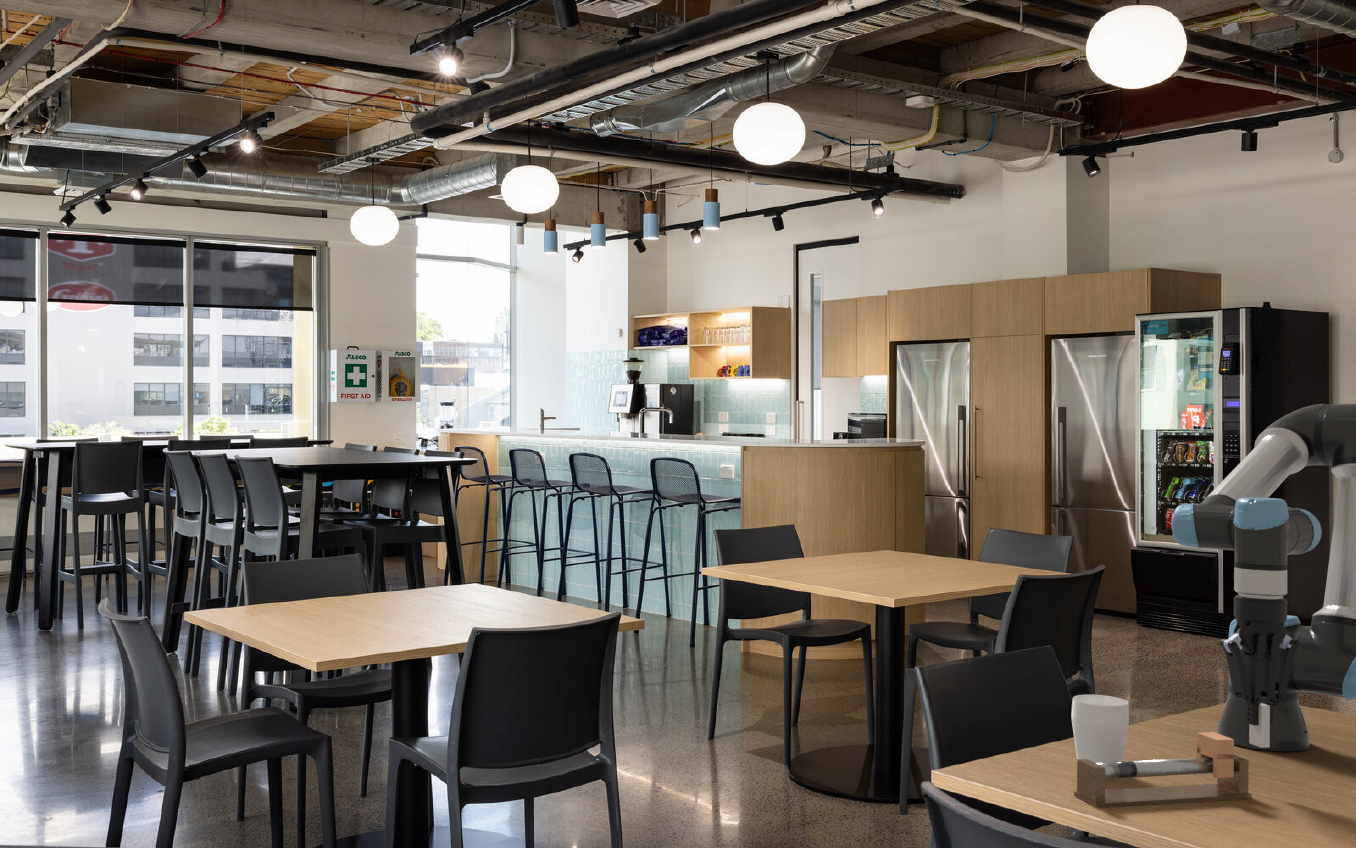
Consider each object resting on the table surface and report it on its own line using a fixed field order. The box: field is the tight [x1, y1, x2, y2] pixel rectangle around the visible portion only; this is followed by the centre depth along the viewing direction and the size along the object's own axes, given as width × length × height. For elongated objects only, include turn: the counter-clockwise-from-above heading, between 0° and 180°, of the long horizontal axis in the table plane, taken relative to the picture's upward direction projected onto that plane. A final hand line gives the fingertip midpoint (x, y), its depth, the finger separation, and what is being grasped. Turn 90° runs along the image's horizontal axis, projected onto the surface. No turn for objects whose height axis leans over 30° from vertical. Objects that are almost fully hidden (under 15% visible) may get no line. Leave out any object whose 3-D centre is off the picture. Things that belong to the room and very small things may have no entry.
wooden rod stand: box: [1073, 754, 1253, 808], centre depth 178 cm, size 27×6×6 cm, turn 103°
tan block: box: [1196, 731, 1235, 779], centre depth 180 cm, size 3×5×6 cm, turn 13°
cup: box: [1071, 694, 1130, 763], centre depth 191 cm, size 9×9×12 cm
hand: (1259, 745), depth 182 cm, fingers closed
